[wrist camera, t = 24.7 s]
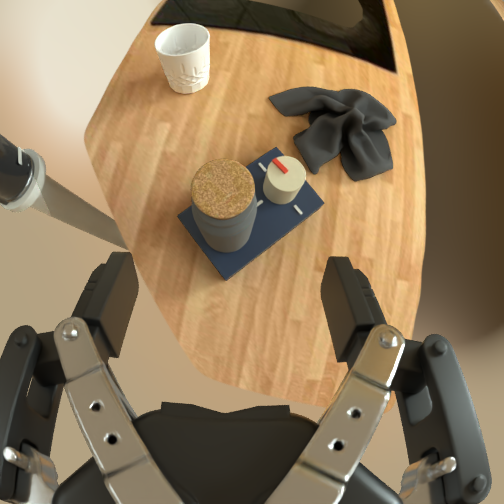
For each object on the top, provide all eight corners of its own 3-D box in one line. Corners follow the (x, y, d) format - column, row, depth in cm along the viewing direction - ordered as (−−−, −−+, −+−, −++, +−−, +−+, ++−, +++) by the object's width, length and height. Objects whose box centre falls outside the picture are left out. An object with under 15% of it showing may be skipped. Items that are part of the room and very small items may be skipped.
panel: (226, 281, 38) (225, 280, 35) (181, 221, 39) (176, 215, 36) (322, 206, 40) (329, 199, 37) (277, 153, 41) (280, 142, 38)
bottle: (237, 198, 37) (240, 140, 22) (259, 239, 36) (276, 204, 21) (194, 219, 36) (170, 171, 21) (215, 261, 35) (203, 239, 21)
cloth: (391, 101, 44) (406, 82, 38) (400, 193, 42) (421, 180, 35) (272, 72, 43) (276, 48, 37) (260, 166, 41) (265, 146, 35)
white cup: (217, 90, 42) (215, 47, 32) (169, 102, 41) (157, 62, 31) (207, 59, 43) (203, 18, 33) (163, 71, 42) (152, 31, 32)
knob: (303, 190, 37) (314, 174, 32) (279, 211, 37) (287, 198, 31) (280, 166, 38) (287, 147, 32) (255, 186, 37) (259, 170, 32)
